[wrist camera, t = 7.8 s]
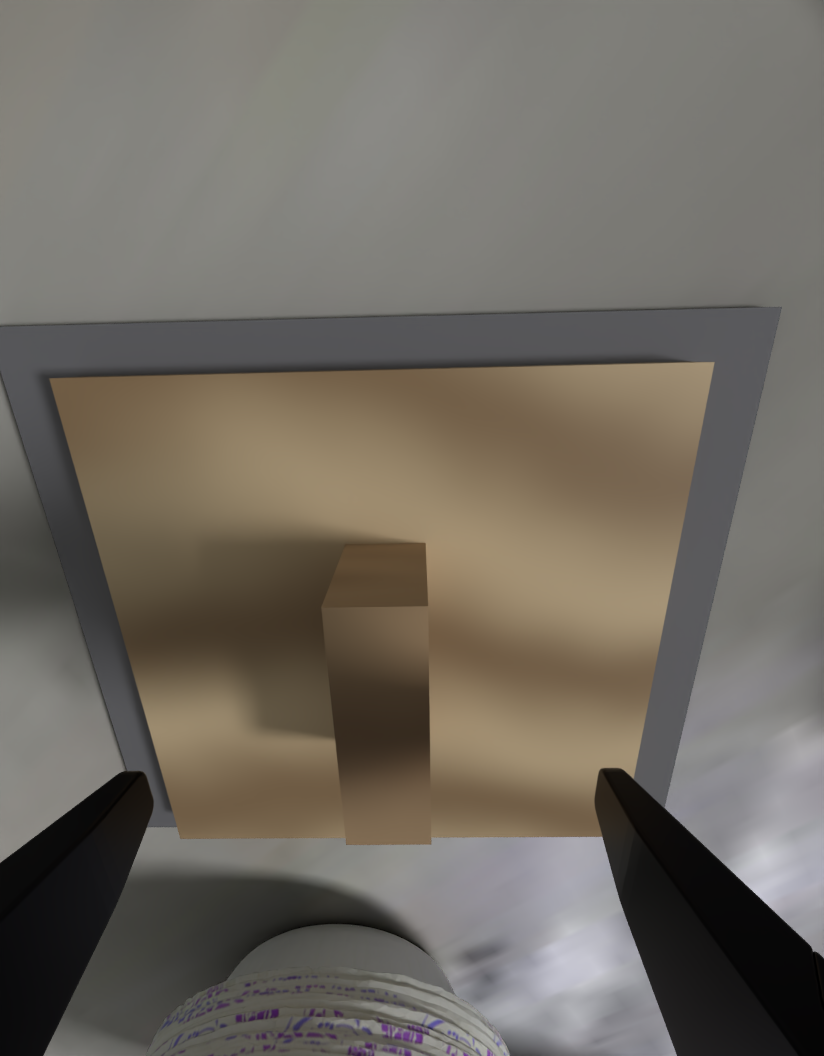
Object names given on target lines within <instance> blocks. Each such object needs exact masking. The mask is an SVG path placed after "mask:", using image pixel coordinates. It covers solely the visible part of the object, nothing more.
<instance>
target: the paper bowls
mask: <svg viewBox="0 0 824 1056" xmlns="http://www.w3.org/2000/svg"><path fill="white" fill-rule="evenodd" d="M146 1056H510V1054H509V1051H508V1048H507V1046H506V1044H505V1042H504V1041H503V1039H502V1037H501V1035H500V1033H499V1032H498V1031H497V1030H496V1028H495V1027H494V1026H493V1025H491V1024H490V1023H489V1022H488V1020H487V1019H486V1018H485V1017H484V1016H483V1015H482V1014H481V1013H480V1012H478V1011H477V1010H476V1009H475V1008H474V1007H473V1006H471V1005H470V1004H469V1003H467V1002H465V1001H464V1000H462V999H459V998H458V997H457V996H456V995H455V994H454V991H453V989H452V987H451V985H450V983H449V981H448V979H447V977H446V975H445V974H444V972H443V971H442V969H441V968H440V967H439V965H438V964H437V963H436V962H435V961H434V960H433V959H432V958H431V957H430V956H429V955H428V954H426V953H425V952H424V951H422V950H421V949H420V948H418V947H417V946H415V945H413V944H412V943H410V942H409V941H407V940H405V939H403V938H401V937H398V936H396V935H393V934H391V933H388V932H385V931H382V930H378V929H375V928H371V927H364V926H358V925H349V924H325V925H314V926H307V927H302V928H298V929H294V930H291V931H288V932H285V933H283V934H280V935H277V936H275V937H273V938H271V939H269V940H268V941H266V942H264V943H263V944H261V945H259V946H258V947H257V948H255V949H254V950H253V951H252V952H250V953H249V954H248V955H247V956H246V957H245V958H244V959H243V960H242V961H241V962H240V963H239V964H238V966H237V967H236V968H235V969H234V971H233V972H232V973H231V975H230V976H229V977H228V979H227V980H226V981H225V982H222V983H220V984H217V985H216V986H211V987H210V988H208V989H206V990H204V991H201V992H198V993H197V994H195V995H194V997H193V998H188V999H187V1000H186V1002H185V1003H184V1005H180V1006H179V1007H178V1008H176V1009H175V1010H174V1011H173V1012H172V1013H171V1014H170V1015H169V1016H167V1018H165V1019H164V1021H163V1023H162V1024H161V1026H160V1027H159V1028H158V1031H157V1033H156V1034H155V1035H154V1038H153V1041H152V1043H151V1045H150V1046H149V1048H148V1051H147V1053H146Z"/></svg>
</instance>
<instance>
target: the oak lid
mask: <svg viewBox="0 0 824 1056" xmlns="http://www.w3.org/2000/svg"><path fill="white" fill-rule="evenodd" d="M714 363H715V362H653V363H612V364H572V365H532V366H491V367H451V368H410V369H370V370H330V371H289V372H249V373H209V374H168V375H128V376H88V377H65V378H49V380H50V383H51V387H52V390H53V394H54V397H55V401H56V404H57V408H58V411H59V415H60V418H61V422H62V425H63V429H64V432H65V436H66V439H67V443H68V446H69V450H70V453H71V457H72V460H73V464H74V467H75V471H76V474H77V478H78V481H79V485H80V488H81V492H82V495H83V499H84V502H85V506H86V509H87V513H88V516H89V520H90V523H91V527H92V530H93V534H94V537H95V541H96V544H97V548H98V551H99V555H100V558H101V562H102V565H103V569H104V572H105V576H106V579H107V583H108V586H109V590H110V593H111V597H112V600H113V604H114V607H115V611H116V614H117V618H118V621H119V625H120V628H121V632H122V635H123V639H124V642H125V646H126V649H127V653H128V656H129V660H130V663H131V667H132V670H133V674H134V677H135V681H136V684H137V688H138V691H139V695H140V698H141V702H142V705H143V709H144V712H145V716H146V719H147V723H148V726H149V730H150V733H151V737H152V740H153V744H154V748H155V751H156V755H157V758H158V762H159V765H160V769H161V772H162V776H163V779H164V783H165V786H166V790H167V793H168V797H169V800H170V804H171V807H172V811H173V814H174V818H175V821H176V825H177V828H178V832H179V835H180V839H220V838H346V845H402V844H431V837H602V833H601V829H600V826H599V822H598V818H597V815H596V810H595V804H594V797H595V791H596V784H597V778H598V773H599V770H600V769H601V768H621V769H623V770H624V771H626V772H627V773H628V774H629V775H630V776H631V777H632V778H633V779H634V774H635V769H636V764H637V759H638V754H639V749H640V744H641V738H642V733H643V728H644V723H645V718H646V713H647V708H648V702H649V697H650V692H651V687H652V682H653V677H654V672H655V666H656V661H657V656H658V651H659V646H660V641H661V635H662V630H663V625H664V620H665V615H666V610H667V605H668V599H669V594H670V589H671V584H672V579H673V574H674V569H675V563H676V558H677V553H678V548H679V543H680V538H681V533H682V527H683V522H684V517H685V512H686V507H687V502H688V497H689V491H690V486H691V481H692V476H693V471H694V466H695V461H696V455H697V450H698V445H699V440H700V435H701V430H702V425H703V419H704V414H705V409H706V404H707V399H708V394H709V388H710V383H711V378H712V373H713V368H714Z"/></svg>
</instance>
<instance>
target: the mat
mask: <svg viewBox="0 0 824 1056" xmlns="http://www.w3.org/2000/svg"><path fill="white" fill-rule="evenodd" d="M781 309H782V307H754V308H715V309H675V310H636V311H596V312H557V313H517V314H478V315H438V316H399V317H359V318H320V319H280V320H241V321H201V322H162V323H122V324H83V325H43V326H4V327H0V372H1V375H2V378H3V381H4V384H5V388H6V391H7V394H8V397H9V400H10V403H11V406H12V410H13V413H14V416H15V419H16V422H17V425H18V429H19V432H20V435H21V438H22V441H23V444H24V447H25V451H26V454H27V457H28V460H29V463H30V466H31V469H32V473H33V476H34V479H35V482H36V485H37V488H38V491H39V495H40V498H41V501H42V504H43V507H44V510H45V514H46V517H47V520H48V523H49V526H50V529H51V532H52V536H53V539H54V542H55V545H56V548H57V551H58V554H59V558H60V561H61V564H62V567H63V570H64V573H65V576H66V580H67V583H68V586H69V589H70V592H71V595H72V599H73V602H74V605H75V608H76V611H77V614H78V617H79V621H80V624H81V627H82V630H83V633H84V636H85V639H86V643H87V646H88V649H89V652H90V655H91V658H92V661H93V665H94V668H95V671H96V674H97V677H98V680H99V684H100V687H101V690H102V693H103V696H104V699H105V702H106V706H107V709H108V712H109V715H110V718H111V721H112V724H113V728H114V731H115V734H116V737H117V740H118V743H119V746H120V750H121V753H122V756H123V759H124V762H125V765H126V769H127V771H143V772H144V773H145V774H146V776H147V779H148V782H149V786H150V789H151V792H152V796H153V799H154V808H153V812H152V815H151V818H150V821H149V823H148V826H147V827H177V825H176V821H175V818H174V814H173V811H172V807H171V804H170V800H169V797H168V793H167V790H166V786H165V783H164V779H163V776H162V772H161V769H160V765H159V762H158V758H157V755H156V751H155V748H154V744H153V740H152V737H151V733H150V730H149V726H148V723H147V719H146V716H145V712H144V709H143V705H142V702H141V698H140V695H139V691H138V688H137V684H136V681H135V677H134V674H133V670H132V667H131V663H130V660H129V656H128V653H127V649H126V646H125V642H124V639H123V635H122V632H121V628H120V625H119V621H118V618H117V614H116V611H115V607H114V604H113V600H112V597H111V593H110V590H109V586H108V583H107V579H106V576H105V572H104V569H103V565H102V562H101V558H100V555H99V551H98V548H97V544H96V541H95V537H94V534H93V530H92V527H91V523H90V520H89V516H88V513H87V509H86V506H85V502H84V499H83V495H82V492H81V488H80V485H79V481H78V478H77V474H76V471H75V467H74V464H73V460H72V457H71V453H70V450H69V446H68V443H67V439H66V436H65V432H64V429H63V425H62V422H61V418H60V415H59V411H58V408H57V404H56V401H55V397H54V394H53V390H52V387H51V383H50V380H49V378H65V377H88V376H128V375H168V374H209V373H249V372H289V371H330V370H370V369H410V368H451V367H491V366H532V365H572V364H612V363H653V362H715V363H714V368H713V373H712V378H711V383H710V388H709V394H708V399H707V404H706V409H705V414H704V419H703V425H702V430H701V435H700V440H699V445H698V450H697V455H696V461H695V466H694V471H693V476H692V481H691V486H690V491H689V497H688V502H687V507H686V512H685V517H684V522H683V527H682V533H681V538H680V543H679V548H678V553H677V558H676V563H675V569H674V574H673V579H672V584H671V589H670V594H669V599H668V605H667V610H666V615H665V620H664V625H663V630H662V635H661V641H660V646H659V651H658V656H657V661H656V666H655V672H654V677H653V682H652V687H651V692H650V697H649V702H648V708H647V713H646V718H645V723H644V728H643V733H642V738H641V744H640V749H639V754H638V759H637V764H636V769H635V774H634V780H635V781H636V782H637V783H638V784H639V785H640V786H641V787H643V788H644V789H645V790H646V791H647V792H648V793H649V794H650V795H651V796H652V797H653V798H654V799H655V800H656V801H657V802H658V803H660V804H661V805H662V806H663V807H665V803H666V799H667V794H668V790H669V786H670V782H671V777H672V773H673V769H674V765H675V760H676V756H677V752H678V747H679V743H680V739H681V735H682V730H683V726H684V722H685V718H686V713H687V709H688V705H689V701H690V696H691V692H692V688H693V684H694V679H695V675H696V671H697V667H698V662H699V658H700V654H701V649H702V645H703V641H704V637H705V632H706V628H707V624H708V620H709V615H710V611H711V607H712V603H713V598H714V594H715V590H716V586H717V581H718V577H719V573H720V568H721V564H722V560H723V556H724V551H725V547H726V543H727V539H728V534H729V530H730V526H731V522H732V517H733V513H734V509H735V505H736V500H737V496H738V492H739V488H740V483H741V479H742V475H743V470H744V466H745V462H746V458H747V453H748V449H749V445H750V441H751V436H752V432H753V428H754V424H755V419H756V415H757V411H758V407H759V402H760V398H761V394H762V390H763V385H764V381H765V377H766V372H767V368H768V364H769V360H770V355H771V351H772V347H773V343H774V338H775V334H776V330H777V326H778V321H779V317H780V313H781Z"/></svg>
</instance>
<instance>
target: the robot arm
mask: <svg viewBox="0 0 824 1056" xmlns="http://www.w3.org/2000/svg"><path fill="white" fill-rule="evenodd" d="M594 804H595V810H596V815H597V818H598V822H599V826H600V829H601V833H602V837H603V840H604V844H605V848H606V852H607V855H608V859H609V863H610V866H611V870H612V874H613V877H614V881H615V885H616V888H617V892H618V895H619V899H620V902H621V905H622V908H623V911H624V914H625V916H626V919H627V922H628V925H629V927H630V930H631V933H632V935H633V938H634V941H635V943H636V946H637V949H638V951H639V954H640V957H641V960H642V962H643V965H644V968H645V970H646V973H647V976H648V978H649V981H650V984H651V986H652V989H653V992H654V995H655V997H656V1000H657V1003H658V1005H659V1008H660V1011H661V1013H662V1016H663V1019H664V1021H665V1024H666V1027H667V1030H668V1032H669V1035H670V1038H671V1040H672V1043H673V1046H674V1048H675V1051H676V1054H677V1056H824V958H823V957H822V956H821V955H820V954H819V953H817V952H813V950H812V948H811V946H810V945H809V944H808V943H807V942H806V941H805V940H804V939H803V938H802V937H801V936H799V935H798V934H797V933H796V932H795V931H794V930H793V929H792V928H791V927H790V926H789V925H788V924H787V923H786V922H785V921H784V920H783V919H781V918H780V917H779V916H778V915H777V914H776V913H775V912H774V911H773V910H772V909H771V908H770V907H769V906H768V905H767V904H766V903H764V902H763V901H762V900H761V899H760V898H759V897H758V896H757V895H756V894H755V893H754V892H753V891H752V890H751V889H750V888H749V887H748V886H746V885H745V884H744V883H743V882H742V881H741V880H740V879H739V878H738V877H737V876H736V875H735V874H734V873H733V872H732V871H731V870H729V869H728V868H727V867H726V866H725V865H724V864H723V863H722V862H721V861H720V860H719V859H718V858H717V857H716V856H715V855H714V854H713V853H711V852H710V851H709V850H708V849H707V848H706V847H705V846H704V845H703V844H702V843H701V842H700V841H699V840H698V839H697V838H696V837H695V836H693V835H692V834H691V833H690V832H689V831H688V830H687V829H686V828H685V827H684V826H683V825H682V824H681V823H680V822H679V821H678V820H676V819H675V818H674V817H673V816H672V815H671V814H670V813H669V812H668V811H667V810H666V809H665V808H664V807H663V806H662V805H661V804H660V803H658V802H657V801H656V800H655V799H654V798H653V797H652V796H651V795H650V794H649V793H648V792H647V791H646V790H645V789H644V788H643V787H641V786H640V785H639V784H638V783H637V782H636V781H635V780H634V779H633V778H632V777H631V776H630V775H629V774H628V773H627V772H626V771H624V770H623V769H621V768H601V769H600V770H599V773H598V778H597V784H596V791H595V797H594ZM153 808H154V799H153V796H152V792H151V789H150V786H149V782H148V779H147V776H146V774H145V773H144V772H143V771H124V772H121V773H119V774H118V775H116V776H115V777H113V778H112V779H111V780H110V781H108V782H107V783H106V784H104V785H103V786H102V787H100V788H99V789H98V790H96V791H95V792H94V793H92V794H91V795H90V796H88V797H87V798H86V799H84V800H83V801H82V802H80V803H79V804H78V805H76V806H75V807H74V808H72V809H71V810H70V811H68V812H67V813H66V814H64V815H63V816H62V817H60V818H59V819H58V820H56V821H55V822H54V823H53V824H51V825H50V826H49V827H47V828H46V829H45V830H43V831H42V832H41V833H39V834H38V835H37V836H35V837H34V838H33V839H31V840H30V841H29V842H27V843H26V844H25V845H23V846H22V847H21V848H19V849H18V850H17V851H15V852H14V853H13V854H11V855H10V856H9V857H7V858H6V859H5V860H3V861H2V862H1V863H0V1056H43V1055H44V1053H45V1051H46V1049H47V1047H48V1045H49V1043H50V1041H51V1039H52V1036H53V1034H54V1032H55V1030H56V1028H57V1026H58V1024H59V1022H60V1020H61V1018H62V1016H63V1014H64V1012H65V1010H66V1008H67V1006H68V1004H69V1002H70V999H71V997H72V995H73V993H74V991H75V989H76V987H77V985H78V983H79V981H80V979H81V977H82V975H83V973H84V971H85V969H86V967H87V965H88V962H89V960H90V958H91V956H92V954H93V952H94V950H95V948H96V946H97V944H98V942H99V940H100V938H101V936H102V934H103V932H104V930H105V928H106V925H107V923H108V921H109V919H110V917H111V915H112V913H113V911H114V909H115V906H116V904H117V902H118V900H119V897H120V895H121V893H122V890H123V888H124V885H125V883H126V880H127V878H128V875H129V872H130V870H131V867H132V865H133V862H134V859H135V857H136V854H137V852H138V849H139V846H140V844H141V841H142V839H143V836H144V833H145V831H146V828H147V826H148V823H149V821H150V818H151V815H152V812H153Z"/></svg>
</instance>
